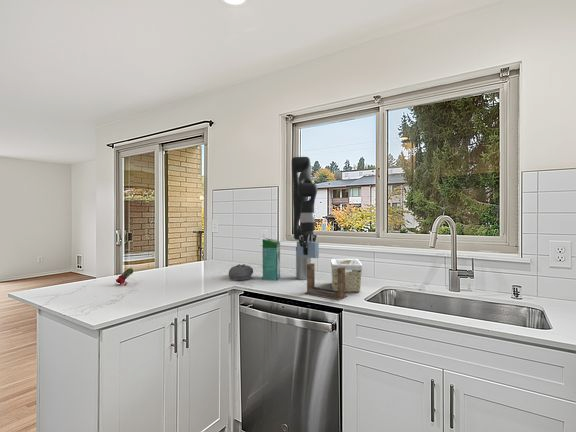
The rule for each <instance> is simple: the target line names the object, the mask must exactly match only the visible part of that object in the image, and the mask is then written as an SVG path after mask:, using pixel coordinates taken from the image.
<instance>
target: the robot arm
mask: <svg viewBox="0 0 576 432" xmlns="http://www.w3.org/2000/svg"><path fill="white" fill-rule="evenodd" d="M291 172H292V173H291V175H292V185H293V186H292V187H293V188H292V204H293V239H294V240H296V241H299V243H300V246H301V247H303V254H304V255H308V248H307V247H308V243H309V242H317V241H316V240H317V234H314V231H315V228H316V225H315V224H316V221H315V220H316V219H315V202H316V197H317V194H318V190H319V189H318V188H319V187H318V186H317V184H316V183H313V179H312V165H311V159H310V158H309V157H308V156H293V157H292V159H291ZM298 173H300V174H298ZM305 241H306V242H305ZM302 243H303V244H302ZM305 243H306V245H305ZM310 263H312V258H306V257H297V246H295V274H296V275H295V278H296V279H297V280H302V281H303V280H304V281H305V280H306V281H307V264H310Z"/></svg>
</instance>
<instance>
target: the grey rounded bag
mask: <svg viewBox="0 0 576 432" xmlns="http://www.w3.org/2000/svg"><path fill="white" fill-rule="evenodd" d="M253 273H254V268H253V267H252V266H250V265H246V264H240V263H239V264H237V265H235V266H231V268H230V269H229V270H228V279H229V280H230V281H238V280H239V281H246V280H249V279H250V278H251V277H252V275H253ZM239 281H238V282H239Z"/></svg>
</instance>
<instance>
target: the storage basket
mask: <svg viewBox="0 0 576 432" xmlns="http://www.w3.org/2000/svg"><path fill="white" fill-rule="evenodd" d="M330 267H331V286H332V287H331V289H332V290H338V274H337V268H339V267H345V292H348V293H349V292H352V293H354V292H357V293H358V292H360V291H361V286H362V285H361V281H362V273H363V264H362V262H361V261H360V260H359V259H358V258H331V260H330Z"/></svg>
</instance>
